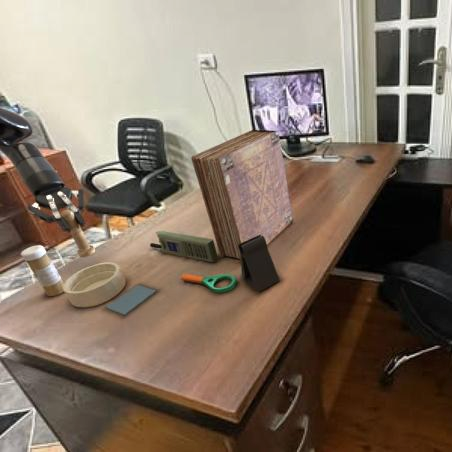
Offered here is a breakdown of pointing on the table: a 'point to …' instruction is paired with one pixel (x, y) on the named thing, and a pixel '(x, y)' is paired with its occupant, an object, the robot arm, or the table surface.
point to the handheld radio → (186, 246)
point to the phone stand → (257, 263)
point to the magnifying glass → (214, 279)
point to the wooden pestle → (77, 234)
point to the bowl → (94, 284)
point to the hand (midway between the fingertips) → (76, 227)
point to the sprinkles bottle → (43, 269)
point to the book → (244, 189)
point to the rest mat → (131, 300)
